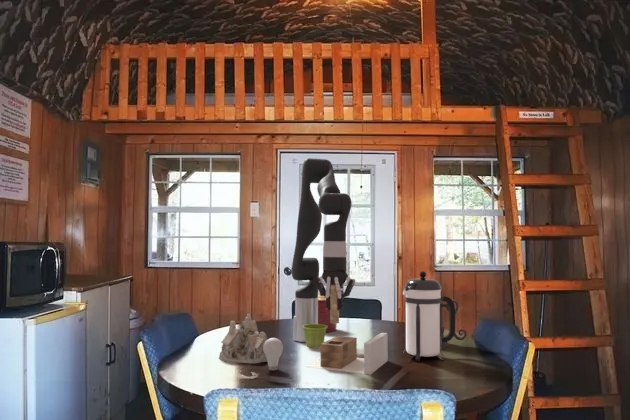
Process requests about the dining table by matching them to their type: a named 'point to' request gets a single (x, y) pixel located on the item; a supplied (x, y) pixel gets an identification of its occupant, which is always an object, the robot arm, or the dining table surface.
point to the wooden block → (360, 355)
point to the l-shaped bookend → (365, 357)
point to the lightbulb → (273, 352)
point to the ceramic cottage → (244, 343)
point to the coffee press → (425, 317)
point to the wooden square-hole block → (338, 352)
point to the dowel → (333, 305)
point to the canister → (324, 314)
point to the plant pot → (314, 334)
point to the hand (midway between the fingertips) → (334, 309)
